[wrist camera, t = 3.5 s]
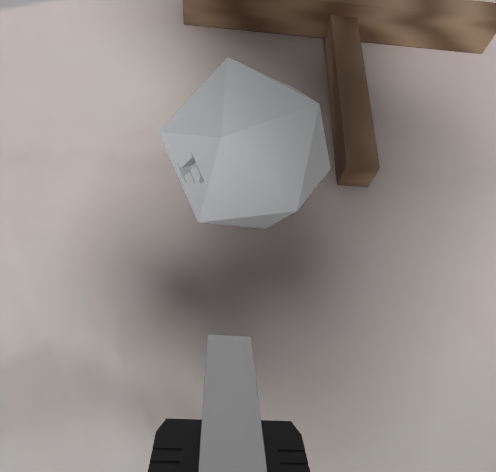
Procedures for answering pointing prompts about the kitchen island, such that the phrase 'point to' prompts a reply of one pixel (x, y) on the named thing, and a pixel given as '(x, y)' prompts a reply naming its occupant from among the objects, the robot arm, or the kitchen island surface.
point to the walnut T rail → (355, 50)
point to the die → (246, 148)
